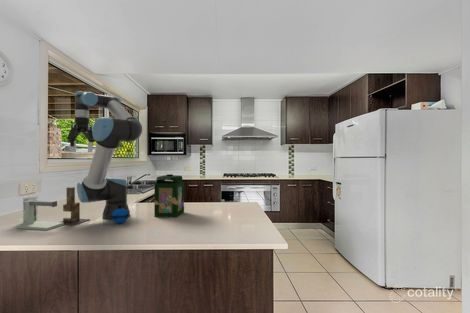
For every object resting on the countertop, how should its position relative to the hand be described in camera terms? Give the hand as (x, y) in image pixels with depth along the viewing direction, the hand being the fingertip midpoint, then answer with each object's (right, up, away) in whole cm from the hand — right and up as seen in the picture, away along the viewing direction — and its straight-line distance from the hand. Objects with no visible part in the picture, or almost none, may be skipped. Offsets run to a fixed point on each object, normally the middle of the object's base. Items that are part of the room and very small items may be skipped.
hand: (82, 152), depth 161 cm
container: (+52, -39, +4) cm, 65 cm away
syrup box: (-19, -39, -17) cm, 46 cm away
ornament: (+31, -39, -18) cm, 53 cm away
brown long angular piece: (+4, -39, -17) cm, 42 cm away
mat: (+4, -39, -16) cm, 42 cm away
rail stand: (-7, -39, -25) cm, 47 cm away
